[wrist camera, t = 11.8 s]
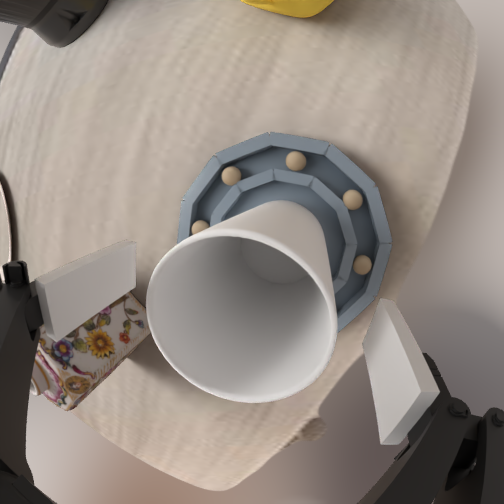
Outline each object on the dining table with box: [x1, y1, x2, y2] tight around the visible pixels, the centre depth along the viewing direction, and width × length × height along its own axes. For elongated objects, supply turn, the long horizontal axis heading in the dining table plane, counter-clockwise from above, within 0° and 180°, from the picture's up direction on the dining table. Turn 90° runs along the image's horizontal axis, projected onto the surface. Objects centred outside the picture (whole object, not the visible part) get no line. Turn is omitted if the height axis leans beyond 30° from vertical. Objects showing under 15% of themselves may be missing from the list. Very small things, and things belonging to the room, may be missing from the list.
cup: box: [146, 200, 338, 403], centre depth 18 cm, size 8×8×16 cm
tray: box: [177, 132, 392, 333], centre depth 25 cm, size 20×20×3 cm
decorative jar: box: [30, 291, 151, 411], centre depth 26 cm, size 12×12×18 cm
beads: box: [192, 151, 372, 275], centre depth 25 cm, size 17×17×2 cm
